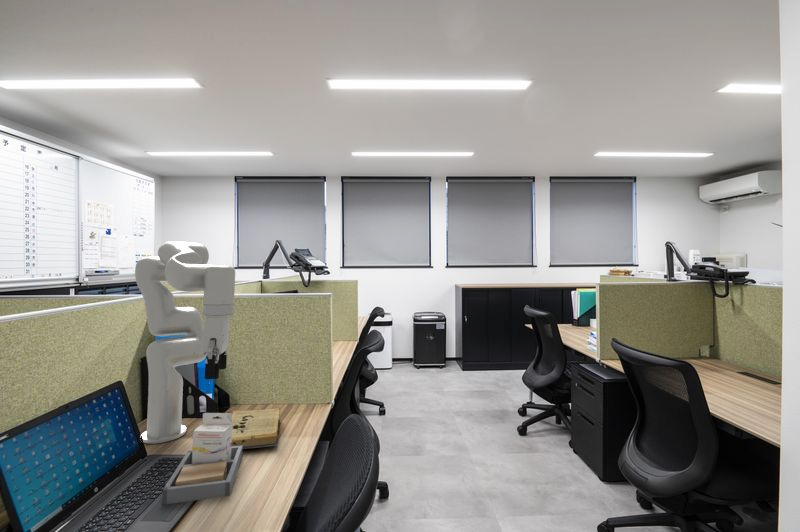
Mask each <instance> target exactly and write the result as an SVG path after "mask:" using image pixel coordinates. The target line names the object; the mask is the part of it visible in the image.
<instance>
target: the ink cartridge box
mask: <svg viewBox="0 0 800 532" xmlns="http://www.w3.org/2000/svg"><path fill="white" fill-rule="evenodd" d="M217 417H218V418H217ZM214 418H216V419H214ZM219 418H220V419H219ZM192 435H193V436H192V450H193V451H192V450H191V451H192V464H197V463H206V462H216V461H225V460H231V446H232V413H231V412H230V413H229V412H228V413H226V412H225V413H224V412H203V413H202V424H200V425H199V426H198V427H196V428H195V429H193V434H192Z"/></svg>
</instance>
